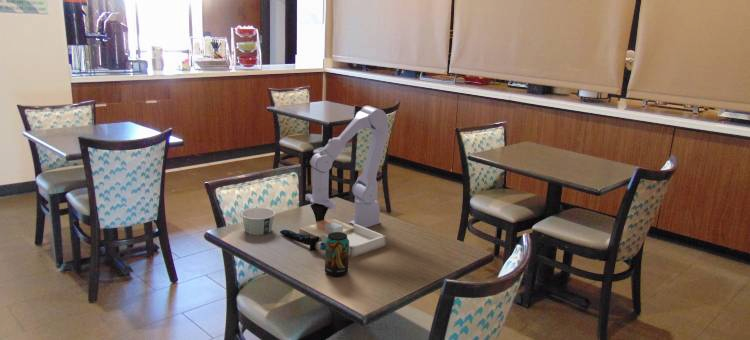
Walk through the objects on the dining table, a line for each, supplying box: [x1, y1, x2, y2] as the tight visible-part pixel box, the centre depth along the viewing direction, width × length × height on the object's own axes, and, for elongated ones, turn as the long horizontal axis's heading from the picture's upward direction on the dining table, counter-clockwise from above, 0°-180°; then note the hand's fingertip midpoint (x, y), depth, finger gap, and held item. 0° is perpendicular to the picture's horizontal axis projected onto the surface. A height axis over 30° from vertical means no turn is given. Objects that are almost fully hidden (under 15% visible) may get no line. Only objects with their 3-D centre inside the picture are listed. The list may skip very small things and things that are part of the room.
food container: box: [240, 207, 276, 236], centre depth 201 cm, size 12×12×6 cm
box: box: [321, 224, 387, 258], centre depth 192 cm, size 16×15×4 cm
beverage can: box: [324, 232, 350, 278], centre depth 169 cm, size 7×7×12 cm
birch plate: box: [298, 218, 354, 242], centre depth 201 cm, size 16×12×2 cm
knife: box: [279, 229, 326, 252], centre depth 188 cm, size 31×3×4 cm, turn 43°
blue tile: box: [325, 222, 343, 233], centre depth 198 cm, size 4×4×2 cm
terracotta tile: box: [316, 218, 334, 230], centre depth 201 cm, size 4×4×2 cm
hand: (319, 223), depth 204 cm, fingers closed
